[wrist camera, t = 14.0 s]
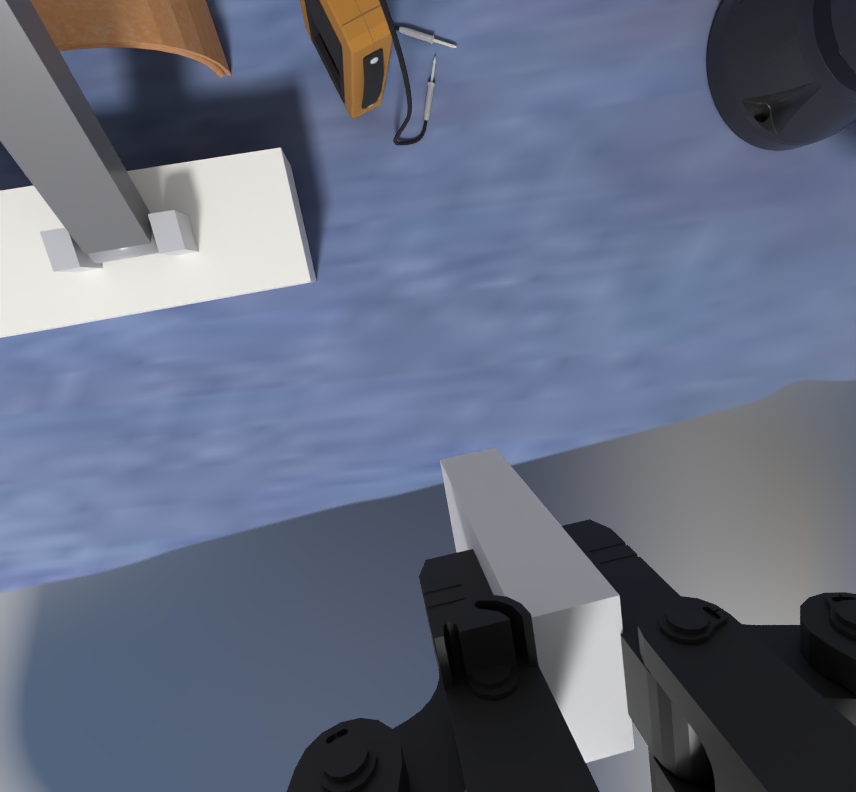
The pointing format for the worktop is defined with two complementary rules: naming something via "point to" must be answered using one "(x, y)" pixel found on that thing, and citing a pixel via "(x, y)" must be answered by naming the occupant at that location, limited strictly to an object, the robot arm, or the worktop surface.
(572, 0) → the worktop surface
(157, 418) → the worktop surface
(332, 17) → the multimeter
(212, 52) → the arch
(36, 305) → the white rectangular slab
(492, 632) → the robot arm
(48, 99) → the lever
